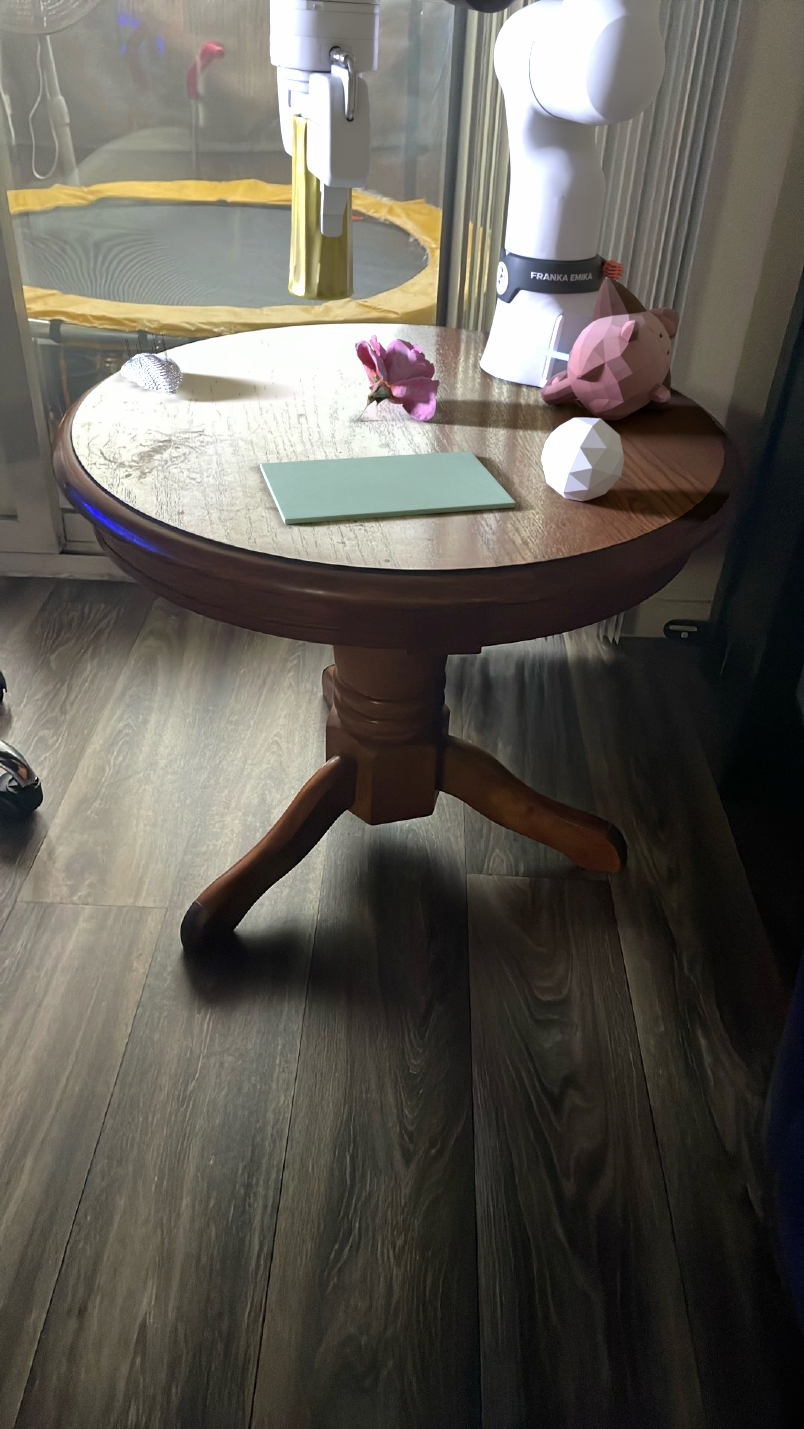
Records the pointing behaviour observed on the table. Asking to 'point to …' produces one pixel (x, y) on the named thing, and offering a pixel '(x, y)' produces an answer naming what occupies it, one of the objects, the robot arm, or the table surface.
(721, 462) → the table surface
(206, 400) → the table surface
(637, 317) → the toy
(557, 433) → the geometric ball
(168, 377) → the pincushion
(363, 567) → the table surface
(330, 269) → the vase
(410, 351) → the flower
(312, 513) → the mat
